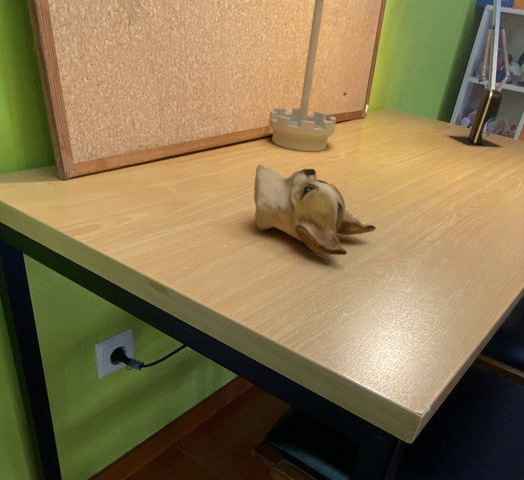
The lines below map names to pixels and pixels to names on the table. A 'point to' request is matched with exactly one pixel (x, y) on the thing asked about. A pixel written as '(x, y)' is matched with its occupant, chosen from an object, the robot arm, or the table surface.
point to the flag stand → (304, 107)
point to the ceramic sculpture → (304, 209)
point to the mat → (468, 142)
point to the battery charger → (485, 113)
